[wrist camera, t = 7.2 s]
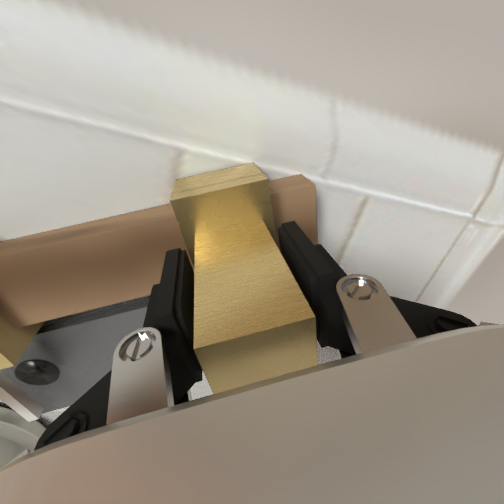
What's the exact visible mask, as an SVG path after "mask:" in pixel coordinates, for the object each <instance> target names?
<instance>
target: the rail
mask: <svg viewBox="0 0 504 504" xmlns="http://www.w3.org/2000/svg"><path fill="white" fill-rule="evenodd" d="M269 189H270V196H271V203H272V211H273V218H274V225H275V233H276V240H277V247H278V249H279V251H280V246H279V238H278V228H279V227H281V224H282V223H286V222H290V221H295V222H296V223H297V224H298V226H299V227H300V228H301V229H302V231H303V232H304V233H305V234H306V236H307V237H308V238H309V239H310V241H311V242H312V243H313V244H314V245H317V244H318V242H317V216H316V191H315V184H314V183H313V182H311V181H310V180H309V179H307V178H306V177H304V176H303V175H302V174H299V175H295V176H290V177H286V178H282V179H277V180H273V181H269ZM177 248H180V249H181V250H182V251H183V250H186V252H187V254H188V257H189V260H190V263H191V265H192V268H193V271H194V266H193V264H192V261H191V258H190V255H189V252H188V250H187V247H186V244H185V241H184V238H183V235H182V233H181V230H180V227H179V224H178V221H177V218H176V216H175V213H174V210H173V207H172V204H166V205H162V206H158V207H153V208H149V209H144V210H140V211H135V212H131V213H126V214H122V215H118V216H113V217H109V218H104V219H100V220H95V221H91V222H87V223H82V224H78V225H73V226H69V227H64V228H60V229H56V230H51V231H47V232H42V233H38V234H33V235H29V236H25V237H20V238H16V239H11V240H7V241H2V242H0V370H1V369H4V368H8V367H12V366H15V364H16V363H17V361H18V360H19V358H20V357H21V355H22V354H23V353H24V351H25V350H26V348H27V347H28V345H29V344H30V342H31V341H32V339H33V338H34V336H35V335H36V333H37V332H38V331H39V329H40V328H41V326H42V325H43V323H44V322H45V321H48V320H52V319H56V318H60V317H64V316H68V315H72V314H76V313H80V312H84V311H88V310H92V309H96V308H100V307H104V306H108V305H112V304H116V303H120V302H124V301H128V300H132V299H136V298H140V297H144V296H148V295H150V294H151V290H152V287H153V285H155V284H159V283H160V280H161V275H162V270H163V265H164V260H165V255H166V251H168V250H172V249H177ZM0 400H2V401H3V402H4V403H6V404H7V405H8V406H9V407H11V408H12V409H13V410H14V411H16V412H17V413H18V414H19V415H21V416H22V417H23V418H25V419H26V420H27V421H28V422H30V421H34V420H37V419H39V418H40V416H41V414H42V412H43V410H44V408H43V407H41V406H40V405H39V404H38V403H37V402H36V401H35V400H33V399H32V398H31V397H30V396H29V395H28V394H27V393H25V392H24V391H23V390H22V389H21V388H20V387H19V386H17V385H16V384H15V383H14V382H13V381H12V380H11V379H9V378H8V377H7V376H6V375H5V374H4V373H3V372H1V371H0Z"/></svg>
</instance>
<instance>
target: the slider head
mask: <svg viewBox="0 0 504 504" xmlns="http://www.w3.org/2000/svg"><path fill="white" fill-rule="evenodd" d="M170 202H171V204H172V207H173V210H174V213H175V216H176V218H177V221H178V224H179V227H180V230H181V233H182V235H183V238H184V241H185V244H186V247H187V250H188V252H189V255H190V258H191V261H192V264H193V266H194V351H195V354H196V356H197V358H198V360H199V363H200V365H201V367H202V369H203V372H204V374H205V376H206V378H207V380H208V383H209V385H210V387H211V389H212V392H213V394H216V393H220V392H223V391H227V390H231V389H234V388H238V387H241V386H245V385H248V384H252V383H256V382H259V381H263V380H266V379H270V378H273V377H277V376H281V375H284V374H288V373H291V372H295V371H299V370H302V369H306V368H309V367H313V366H317V365H318V354H317V336H316V317H315V315H314V313H313V311H312V309H311V308H310V306H309V304H308V302H307V300H306V298H305V297H304V295H303V293H302V291H301V289H300V287H299V286H298V284H297V282H296V280H295V278H294V276H293V275H292V273H291V271H290V269H289V267H288V265H287V264H286V262H285V260H284V258H283V256H282V255H281V253H280V251H279V249H278V247H277V240H276V233H275V225H274V218H273V211H272V203H271V196H270V189H269V181H268V178H267V177H266V176H265V175H264V174H263V172H262V171H261V170H260V169H259V168H258V167H257V166H256V165H255V164H254V162H253V163H248V164H244V165H239V166H235V167H230V168H226V169H221V170H217V171H212V172H207V173H203V174H198V175H194V176H189V177H185V178H180V179H176V180H175V184H174V188H173V192H172V196H171V200H170Z"/></svg>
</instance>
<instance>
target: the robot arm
mask: <svg viewBox="0 0 504 504" xmlns="http://www.w3.org/2000/svg"><path fill="white" fill-rule="evenodd" d="M278 238H279V246H280V253H281V255H282V256H283V258H284V260H285V262H286V264H287V265H288V267H289V269H290V271H291V273H292V275H293V276H294V278H295V280H296V282H297V284H298V286H299V287H300V289H301V291H302V293H303V295H304V297H305V298H306V300H307V302H308V304H309V306H310V308H311V309H312V311H313V313H314V315H315V317H316V336H317V340H318V342H319V344H320V346H321V348H323V347H326V346H330V347H333V348H335V349H336V353H337V356H338V359H339V360H335V361H331V362H328V363H324V364H320V365H317V366H313V367H309V368H306V369H302V370H299V371H295V372H291V373H288V374H284V375H281V376H277V377H273V378H270V379H266V380H263V381H259V382H256V383H252V384H248V385H245V386H241V387H238V388H234V389H231V390H227V391H223V392H220V393H216V394H213V395H209V396H206V397H202V398H199V399H195V400H192V396H191V392H190V388H191V387H192V386H193V385H194V383H195V382H199V381H202V371H203V369H202V367H201V365H200V363H199V360H198V358H197V356H196V354H195V351H194V271H193V268H192V265H191V263H190V260H189V257H188V254H187V252H186V250H183V251H182V250H181V249H180V248H177V249H172V250H168V251H166V255H165V260H164V265H163V270H162V275H161V280H160V283H159V284H155V285H153V287H152V290H151V294H150V298H149V303H148V307H147V311H146V315H145V320H144V324H143V328H141V329H138V330H136V331H134V332H131V333H130V334H128V335H127V336H126V337H124V338H123V339H122V340H121V341H120V343H119V344H118V345H117V347H116V349H115V351H114V355H113V363H112V369H111V370H110V371H109V372H108V373H107V374H106V375H105V376H104V377H102V378H101V379H100V380H99V381H98V382H97V383H96V384H95V385H94V386H92V387H91V388H90V389H89V390H88V391H87V392H86V393H85V394H84V395H82V396H81V397H80V398H79V399H78V400H77V401H76V402H75V403H73V404H72V405H71V406H70V407H69V408H68V409H67V410H66V411H65V412H63V413H62V414H61V415H60V416H59V417H58V418H57V419H56V420H54V421H53V422H52V423H51V425H50V426H49V427H48V428H46V427H44V426H43V425H42V424H41V423H39V422H38V421H36V420H34V421H30V422H28V421H27V420H26V419H25V418H23V417H22V416H21V415H19V414H18V413H17V412H16V411H14V410H12V409H8V408H4V407H1V406H0V504H504V324H502V325H500V324H493V323H485V322H481V323H480V325H479V326H478V325H476V324H475V323H473V322H472V321H471V320H470V319H468V318H466V317H464V316H462V315H460V314H457V313H454V312H451V311H447V310H443V309H439V308H435V307H431V306H427V305H423V304H419V303H415V302H411V301H407V300H403V299H399V298H396V297H392V296H389V295H388V293H387V292H386V290H385V289H384V287H383V286H382V284H381V283H380V282H379V281H378V280H376V279H374V278H373V277H370V276H367V275H361V274H352V275H348V276H347V275H346V273H345V272H344V271H343V270H342V269H341V267H340V266H339V265H338V264H337V263H336V262H335V260H334V259H333V258H332V257H331V256H330V255H329V253H328V252H327V251H326V250H325V249H324V248H323V246H322V245H320V244H317V245H314V244H313V243H312V242H311V241H310V239H309V238H308V237H307V236H306V234H305V233H304V232H303V231H302V229H301V228H300V227H299V226H298V224H297V223H296V222H295V221H290V222H286V223H282V224H281V227H279V228H278Z"/></svg>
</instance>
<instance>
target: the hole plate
mask: <svg viewBox="0 0 504 504" xmlns="http://www.w3.org/2000/svg"><path fill="white" fill-rule="evenodd" d="M149 298H150V296H148V297H144V298H140V299H136V300H132V301H128V302H124V303H120V304H116V305H112V306H108V307H104V308H99V309H95V310H91V311H87V312H83V313H79V314H75V315H71V316H67V317H63V318H59V319H55V320H51V321H47V322H44V323H43V325H42V326H41V328H40V329H39V331H38V332H37V333H36V335H35V336H34V338H33V339H32V341H31V342H30V344H29V345H28V347H27V348H26V350H25V351H24V353H23V354H22V355H21V357H20V358H19V360H18V361H17V363H16V364H15V366H12V367H8V368H4V369H1V370H0V371H1V372H3V373H4V374H5V375H6V376H7V377H8V378H9V379H11V380H12V381H13V382H14V383H15V384H16V385H17V386H19V387H20V388H21V389H22V390H23V391H24V392H25V393H27V394H28V395H29V396H30V397H31V398H32V399H33V400H35V401H36V402H37V403H38V404H39V405H40V406H41V407H43V408H44V410H43V412H42V413H45V412H49V411H53V410H56V409H60V408H64V407H67V406H71V405H72V404H73V403H75V402H76V401H77V400H78V399H79V398H80V397H81V396H82V395H84V394H85V393H86V392H87V391H88V390H89V389H90V388H91V387H92V386H94V385H95V384H96V383H97V382H98V381H99V380H100V379H101V378H102V377H104V376H105V375H106V374H107V373H108V372H109V371H110V370H111V369H112V363H113V355H114V351H115V349H116V347H117V345H118V344H119V343H120V341H121V340H122V339H123V338H124V337H126V336H127V335H128V334H130V333H131V332H134V331H136V330H138V329H141V328H143V324H144V320H145V315H146V311H147V307H148V303H149Z"/></svg>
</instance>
